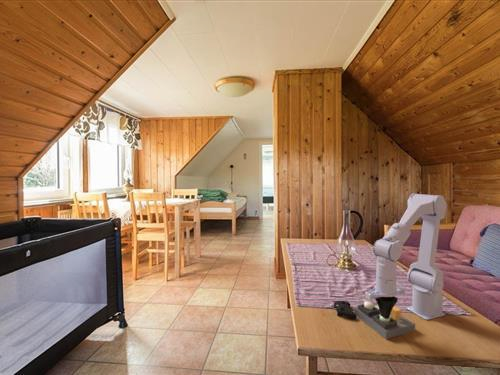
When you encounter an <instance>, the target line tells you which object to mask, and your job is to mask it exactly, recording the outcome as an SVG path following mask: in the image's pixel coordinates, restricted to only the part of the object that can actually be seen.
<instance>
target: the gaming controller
mask: <svg viewBox="0 0 500 375" xmlns="http://www.w3.org/2000/svg"><path fill="white" fill-rule="evenodd" d="M350 307H351V303H350V302H349V301H347V300H335V301H334V302H333V309H335V310H336V312H337V314H336V315H337V316H338V317H345V318H348V319H350V320H357V318H358V317H357V316H356V314H355V311H354V310H352V309H351V308H350Z"/></svg>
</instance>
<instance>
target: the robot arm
mask: <svg viewBox="0 0 500 375" xmlns="http://www.w3.org/2000/svg"><path fill="white" fill-rule="evenodd" d="M406 203H407V208H406V210H405V212H404V213H403V215H402V217H401V219H400V221H399V222H395V223H393V224H392V225H391V226H390V228H389V229H388V231H386V233H385V234H384V236H383V237H382V238H380V239H378V240H376V241H375V242H374V244H373V247H372V253H373V255H374V260H375V262H376V266H375V268H376V270H375V272H376V274H375V284H374V286H373V288H372V289H370V290H368V291H365V299H366V300H367V301H370V302H372V301H373V300H374V299H375V302H376V303H377V304H378V306H379V310H380V314H381V316H382V317H383V318H385V319H388V318H389V316H390V314H391V311H392V309H393V307H394V306H395V305H396V304H397V303H398V300H399V298H398V297H396V296H397V295H398V294H402V295H405V294H406V287H404V286H402V285H397V270H398V269H397V267H398V266H397V262H398V260H400V258H401V256H402V253H403V249H404V244H405V243H406V241H407V240H408V239H409V237H410V235H411V234H412V232H411V230H410V229H411V228H412V227H413V225H414V224H415V223H416V222H418V220H419V219H420V218H421V220H422V225H421V233H420V234H421V235H420V242H419V250H418V256H417V261H416V262H412V263H411V264H410V266H409V270H408V272H407V275H406V278H407V282H408V283H409V284H410V287H412V297H411V300H412V302H411V306H407V307H405V309H406V310H408V311H410V312H411V313H413V314H414V315H416V316H418V317H419V318H422V319H424V320H426V321H428V320H431V319H432V320H433V319H436V318H440V317H444V316H445V315H446V314H445V313H444V312H443V308H444V297H443V294H442V291H443V289H444V284H445V283H444V272H443V270H441V269H440V268H439V267H438V266H437V265H436V257H437V250H438V249H437V248H438V243H439V242H438V240H439V233H440V232H439V231H440V226H441V225H440V224H441V220H444V219H445V218H446V212H447V211H446V210H447V201H446V198H445V197H444V196H443V195H442V194H440V195H439V194H438V195H436V194H421V193H416V192H415V193H414V192H413V193H411V194H410V195H409V197H408V199H407V202H406Z"/></svg>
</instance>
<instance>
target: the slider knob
mask: <svg viewBox="0 0 500 375" xmlns="http://www.w3.org/2000/svg"><path fill="white" fill-rule="evenodd" d="M401 316H402V309H400V308H399V307H397V306H395V305H394V307H393V309H392V311H391V314H390V317H392V318H393V319H395V320H397V319H401Z"/></svg>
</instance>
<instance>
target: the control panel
mask: <svg viewBox="0 0 500 375" xmlns="http://www.w3.org/2000/svg"><path fill="white" fill-rule="evenodd" d="M354 313H355V314H356V316H357V318H358V319H360V321H362V322H364V323H365V324H366V325H367V326H368V327H370V328H371V329H372V330H374V332H376V333H377V334H379V335H380V336H381V337H383V339H385V340H388V339H392V338H395V337H399V336H403V335H407V334H411V333H414V332H415V333H416V324H415V322H412V321H411V320H409V319H408V318H406V317H404V316H403V315H401V319H397V320H395V319H393V318H392V317H390V316H389V317H390V322H388V323H384V322H382V321H381V320H380V315H381V314H380V310H379V306H378V304H377V302H376V303H373V310H371V311H370V310H366V309H365V308H364V303H362V304H357V307H354Z"/></svg>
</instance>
